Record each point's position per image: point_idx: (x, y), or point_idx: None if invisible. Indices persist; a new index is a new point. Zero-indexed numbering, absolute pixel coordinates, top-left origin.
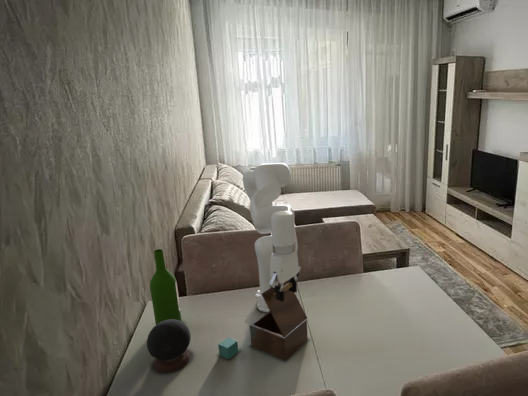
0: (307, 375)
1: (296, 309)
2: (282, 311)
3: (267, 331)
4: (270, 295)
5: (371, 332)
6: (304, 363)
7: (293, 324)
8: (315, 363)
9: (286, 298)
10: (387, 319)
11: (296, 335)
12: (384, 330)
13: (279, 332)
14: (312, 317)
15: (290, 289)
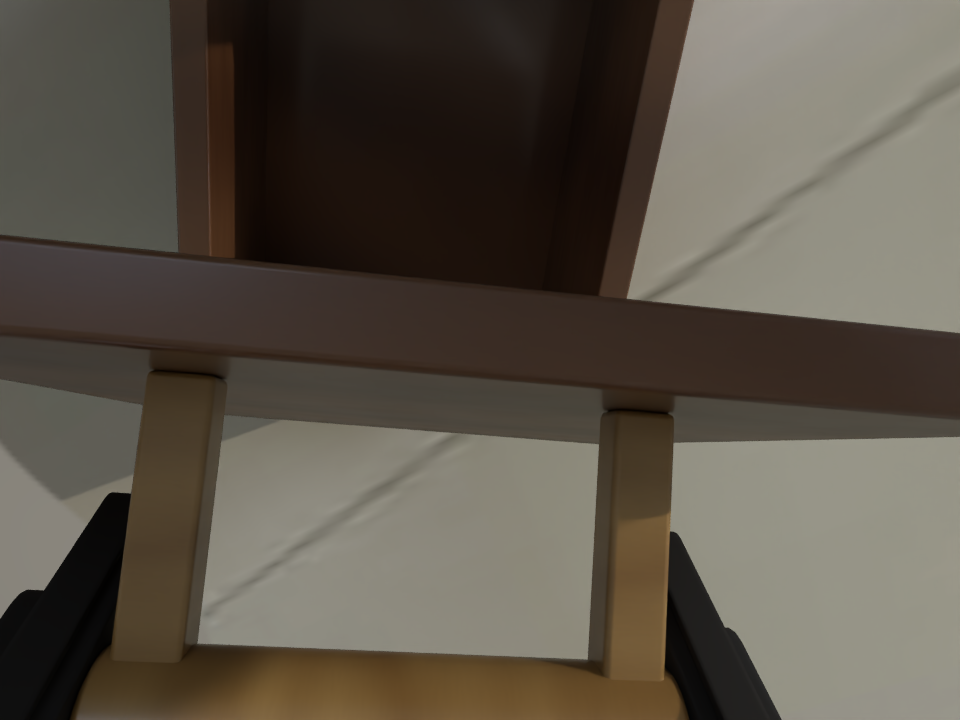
0: None
1: (548, 434)
2: (280, 408)
3: (182, 129)
4: (44, 359)
5: (771, 658)
6: (293, 433)
7: (371, 425)
8: (330, 497)
9: (514, 419)
10: (938, 688)
11: None
12: (809, 710)
13: (549, 23)
14: (895, 190)
15: None
